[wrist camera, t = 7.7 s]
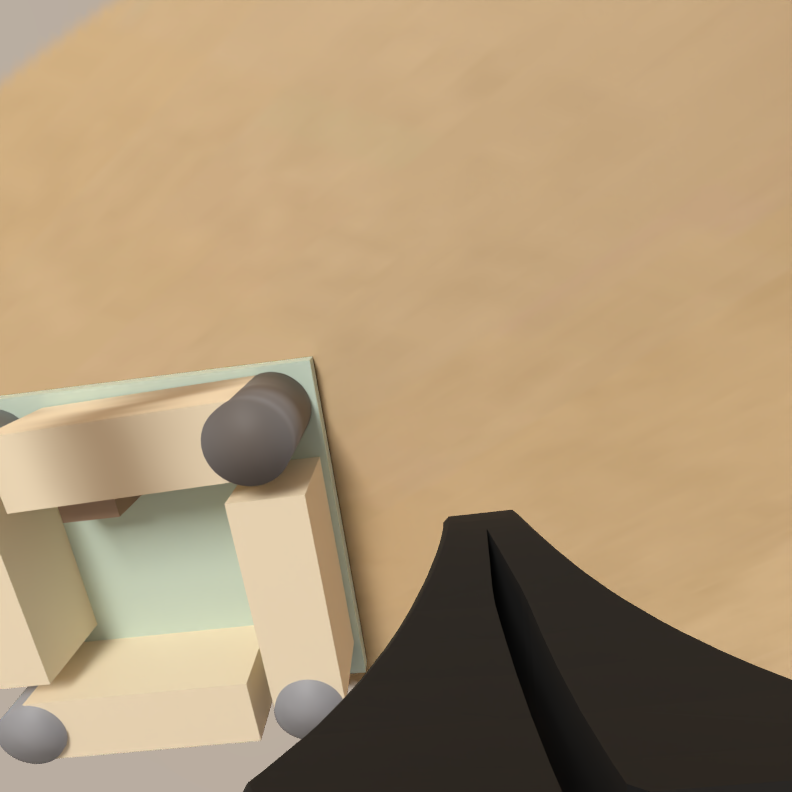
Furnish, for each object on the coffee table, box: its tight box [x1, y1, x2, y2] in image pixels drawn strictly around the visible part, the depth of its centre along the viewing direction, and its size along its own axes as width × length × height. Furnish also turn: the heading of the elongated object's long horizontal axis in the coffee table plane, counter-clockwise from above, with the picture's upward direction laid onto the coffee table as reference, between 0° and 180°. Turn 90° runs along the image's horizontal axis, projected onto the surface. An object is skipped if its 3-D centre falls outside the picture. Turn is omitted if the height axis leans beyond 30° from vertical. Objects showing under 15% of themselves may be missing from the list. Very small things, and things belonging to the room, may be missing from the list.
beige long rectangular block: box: [0, 372, 311, 514], centre depth 17 cm, size 9×3×3 cm, turn 99°
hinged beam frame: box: [0, 357, 367, 764], centre depth 19 cm, size 13×13×4 cm
